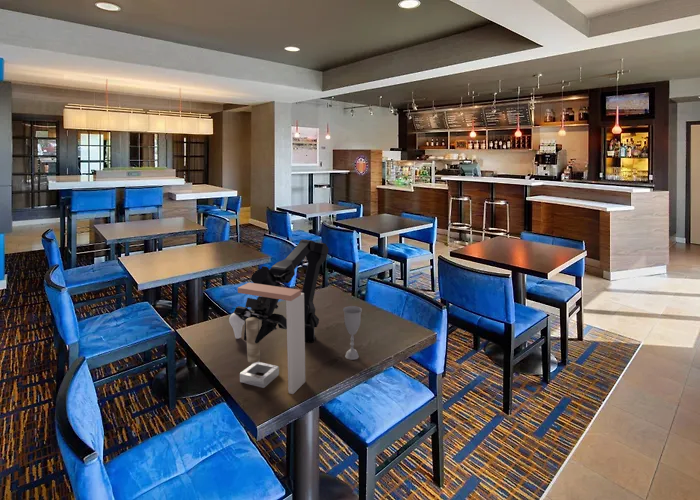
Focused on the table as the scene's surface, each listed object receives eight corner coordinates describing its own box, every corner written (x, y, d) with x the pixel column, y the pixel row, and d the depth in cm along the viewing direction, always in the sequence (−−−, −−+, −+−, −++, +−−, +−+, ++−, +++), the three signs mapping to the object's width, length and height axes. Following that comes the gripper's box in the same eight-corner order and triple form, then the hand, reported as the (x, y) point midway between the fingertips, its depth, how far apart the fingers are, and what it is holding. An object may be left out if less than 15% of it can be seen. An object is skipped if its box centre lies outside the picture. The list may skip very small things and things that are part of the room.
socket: (256, 369, 146) (255, 361, 145) (279, 374, 143) (278, 366, 142) (240, 382, 138) (239, 373, 137) (263, 387, 135) (263, 379, 134)
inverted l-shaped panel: (256, 370, 145) (252, 280, 138) (305, 381, 139) (304, 288, 132) (242, 381, 138) (237, 287, 131) (292, 394, 131) (290, 295, 124)
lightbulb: (242, 342, 166) (240, 315, 164) (227, 341, 168) (225, 314, 165) (248, 336, 172) (247, 310, 170) (234, 334, 173) (233, 309, 171)
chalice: (342, 352, 159) (342, 306, 155) (360, 351, 160) (361, 305, 156) (343, 361, 152) (343, 313, 148) (362, 360, 153) (363, 313, 149)
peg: (259, 356, 142) (258, 316, 139) (260, 362, 139) (258, 321, 135) (247, 357, 141) (245, 317, 138) (247, 363, 138) (245, 322, 134)
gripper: (235, 283, 142) (214, 326, 135) (282, 291, 134) (262, 337, 127) (252, 298, 151) (232, 339, 144) (297, 307, 143) (278, 351, 136)
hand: (250, 341), depth 137 cm, fingers closed on peg, 4 cm apart
